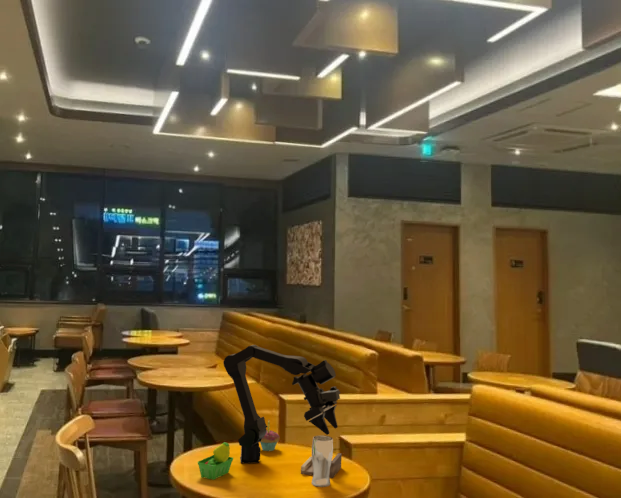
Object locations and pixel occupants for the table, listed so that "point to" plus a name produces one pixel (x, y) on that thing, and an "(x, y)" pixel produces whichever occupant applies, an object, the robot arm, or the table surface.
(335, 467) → the grey bracket
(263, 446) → the cupcake
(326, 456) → the beer glass
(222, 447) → the fruit basket
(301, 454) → the table surface
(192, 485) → the table surface
